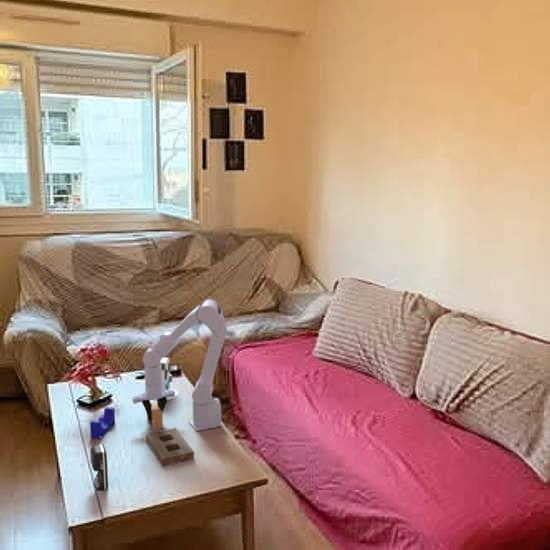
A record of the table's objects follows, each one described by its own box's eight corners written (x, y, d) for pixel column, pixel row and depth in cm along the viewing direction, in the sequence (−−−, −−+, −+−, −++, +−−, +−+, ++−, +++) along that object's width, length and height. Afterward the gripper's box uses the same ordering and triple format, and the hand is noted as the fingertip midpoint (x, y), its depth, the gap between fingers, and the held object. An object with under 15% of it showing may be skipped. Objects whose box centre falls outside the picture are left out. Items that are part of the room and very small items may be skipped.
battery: (91, 480, 171) (89, 444, 169) (104, 477, 173) (102, 441, 171) (94, 492, 165) (92, 455, 163) (108, 489, 167) (106, 452, 164)
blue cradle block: (103, 422, 208) (102, 406, 207) (115, 423, 207) (114, 407, 206) (86, 438, 197) (85, 421, 195) (99, 439, 196) (98, 422, 195)
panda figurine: (175, 401, 226) (174, 364, 223) (145, 401, 226) (144, 363, 223) (180, 389, 237) (179, 353, 234) (152, 388, 238) (151, 353, 235)
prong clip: (155, 417, 212) (154, 402, 211) (162, 428, 204) (162, 412, 203) (147, 419, 210) (146, 403, 209) (154, 430, 203) (153, 413, 201)
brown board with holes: (175, 434, 199) (175, 427, 199) (194, 459, 184) (193, 451, 183) (146, 440, 195) (146, 433, 194) (162, 466, 179) (162, 458, 179)
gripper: (170, 374, 211) (171, 410, 214) (129, 381, 204) (131, 418, 207) (176, 381, 205) (177, 418, 207) (134, 388, 198) (136, 426, 201)
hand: (154, 418), depth 207 cm, fingers closed on prong clip, 3 cm apart
